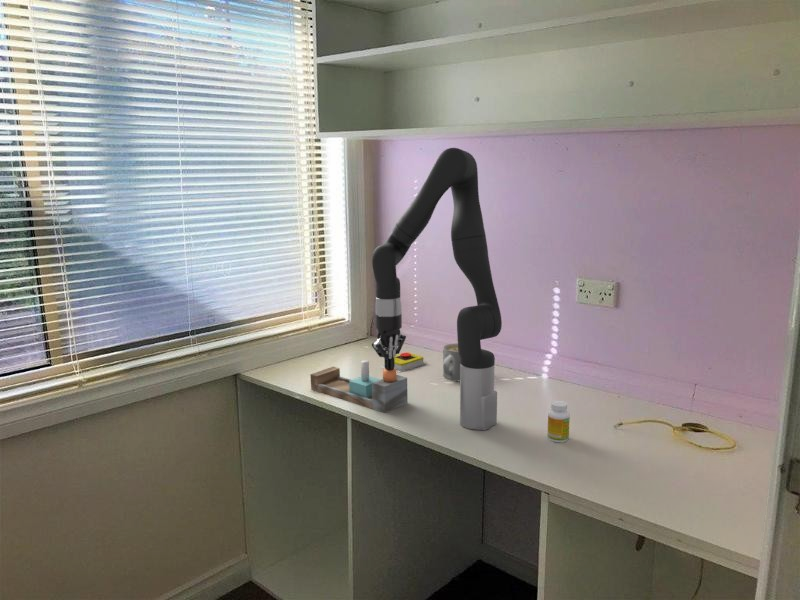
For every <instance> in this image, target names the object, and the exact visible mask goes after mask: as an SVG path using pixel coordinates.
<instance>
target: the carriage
mask: <svg viewBox="0 0 800 600" xmlns="http://www.w3.org/2000/svg"><path fill="white" fill-rule="evenodd" d="M360 372H361V373H360V376H359V377H357V378H353V379H350V381H349V391H350V393H352V394H356V395H359V396H362V397H365V398H369V397H371V396H372V383H373V382H376V381H378V380H381V379H382V378H376V377H373V376H370V360H367V359H366V360H361V361H360Z"/></svg>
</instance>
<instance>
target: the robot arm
mask: <svg viewBox="0 0 800 600" xmlns="http://www.w3.org/2000/svg"><path fill="white" fill-rule="evenodd" d="M478 174H479V172H478V164H477V161H476V159H475V158H474V156H473V155H472V154H471V153H470V152H468V151H465V150H463V149H460V148H458V147H449V148H446V149H445V150H443V151H442V152H441V153H440V154H439V156H438V157H437V159H436V160H435V163H434V164H433V167H432V168H431V170H430V172H429V174H428V176H427V178H426V180H425V182H423V184H422V186H421V188H420V190H419V191H418V193H417V195H416V196H415V198H414V199H413V201H412V202H411V203H410V204H409V206H408V208H407V209H406V210H405V212H404V213H403V214H402V216H401V217H400V219H398V221H397V222H396V223H395V224H394V227H393V229H392V232H391V234H390V236H389V237H388V238H387V240H385V242H384V243H383V244H380V245H379V246H377V247H376V248H375V249H374V250H373V253H372V257H371V264H372V265H371V266H372V271H373V277H374V279H375V308H374V309H375V311H374V312H375V328H376V330H377V335H376V337H377V339H376V341H375V342H372V343H371V348H373V350H374V351H375V353H376V354H377V355H378V357H379V358H384V365H385V369H386V370H389V371H391V370H393V369H394V366H395V364H394V363H395V359H394V357H395V356H396V355H399V354H401V353H400V352H401V350H402V348H403V346H404V343H405V341H406V339H407V336H406V335H404V334H402V333H401V329H402V326H403V322H402V311H403V310H402V301H401V298H402V297H401V281H400V278H399V277H397V265H398V264H399V263H401V261H402V260H403V259H404V257H405V256H406V254H407V253H408V251H409V250H410V248H411V246H412V244H413V243H414V242H416V240H417V239H418V238H419V237H420V235H421V234H422V232H424V229H425V228H426V227H427V225H428V224H429V223H430V221H431V218H432V216H433V214H434V212H435V209H436V208H437V205H438V203H439V201H440V200H441V199H442V197H443V195H445V193H446V192H447V191H448V190H451V191H450V192H451V194H452V201H453V214H452V219H451V220H452V221H451V226H450V227H451V228H450V238H451V245H452V246H451V247H452V253H453V258H454V261H455V263H456V265H457V267H459V269H460V270H461V272H462V273H463V274H464V276H465V277H466V278H467V280H468V281H469V283H470V284H471V287H472V288H473V291H474V294H475V298H476V303H477V305H472V306H467V307H463V308H461V309H460V311H459V312H458V315H457V319H456V333H457V334H456V335H457V343H458V352H459V356H460V381H459V384H460V385H459V387H460V388H459V423H460V426H462V427H463V428H467V429H469V430H475V431H476V430H479V431H480V430H481V431H487V430H488V429H490V428H492V427H493V425H494V426H495V425H497V422H498V421H497V419H498V418H497V416H498V391H496V390H495V366H496V365H495V364H496V362H495V361H496V360H495V354H494V353H493V352H492V351H490V350H486V349H483V348H482V345H481V344H482V342H481V341H482V340H487V339H488V340H489V339H490V338H491V339H492V338H496V337H497V336H498V335H499V334H500V332H501V331H502V327H503V326H502V323H503V322H502V314H501V310H500V306H499V301H498V298H497V293H496V290H495V285H494V281H493V276H492V271H491V265H490V259H489V248H488V244H487V243H488V242H487V236H486V230H485V224H484V219H483V214H482V209H481V203H480V195H479V193H480V192H479V175H478Z"/></svg>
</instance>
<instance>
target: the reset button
mask: <svg viewBox="0 0 800 600" xmlns="http://www.w3.org/2000/svg"><path fill="white" fill-rule="evenodd" d="M397 375H398V374H397V373H396V369H395V368H394V369H393V370H391V371H389V370H386V369H385V368H384V369H383V368H382V379H383V380H384V381H387V382H392V381H396V380H397Z"/></svg>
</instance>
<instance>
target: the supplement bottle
mask: <svg viewBox="0 0 800 600" xmlns="http://www.w3.org/2000/svg"><path fill="white" fill-rule="evenodd" d="M550 404H551V405H550V408H551V409H549V411H548V416H547V439H548V440H549V441H551V442H554V443H566V442H567V441H568V440H569V438H570V420H571V419H570V418H571V417H570V412H569V411H568V403H567V402H566V401H562V400H554V401H552V402H551V403H550Z"/></svg>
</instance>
